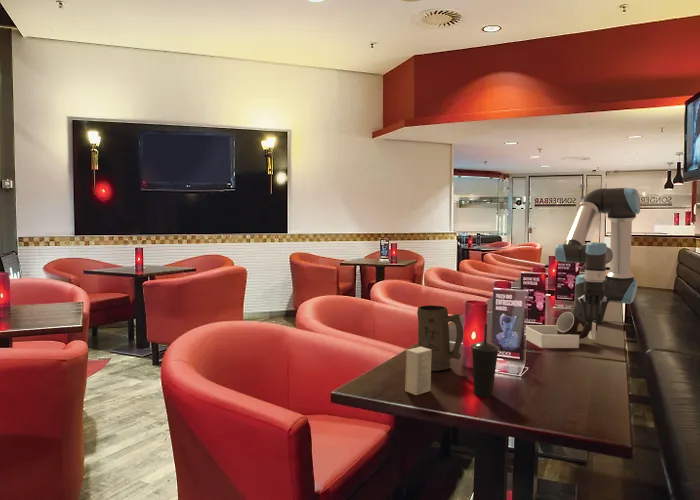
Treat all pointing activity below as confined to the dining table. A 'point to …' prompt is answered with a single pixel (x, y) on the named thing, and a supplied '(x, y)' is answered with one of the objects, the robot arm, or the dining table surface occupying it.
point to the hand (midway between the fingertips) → (591, 338)
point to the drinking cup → (484, 366)
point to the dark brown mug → (572, 325)
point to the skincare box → (418, 370)
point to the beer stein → (438, 335)
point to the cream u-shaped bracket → (550, 337)
